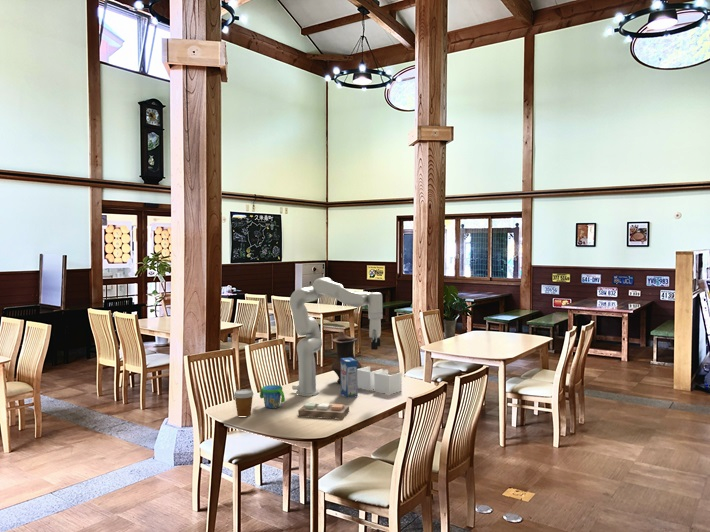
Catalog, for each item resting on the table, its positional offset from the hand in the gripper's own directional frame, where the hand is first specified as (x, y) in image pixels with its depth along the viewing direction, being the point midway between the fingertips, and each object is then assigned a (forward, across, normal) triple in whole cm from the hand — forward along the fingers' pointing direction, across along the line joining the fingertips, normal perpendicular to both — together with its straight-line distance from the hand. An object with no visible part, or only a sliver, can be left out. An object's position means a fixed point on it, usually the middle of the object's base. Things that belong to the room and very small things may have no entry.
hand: (375, 347), depth 289 cm
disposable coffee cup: (+29, +35, -60) cm, 76 cm away
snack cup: (+29, +19, -52) cm, 62 cm away
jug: (+29, -38, -25) cm, 54 cm away
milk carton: (+29, -9, -17) cm, 35 cm away
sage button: (+27, +26, -29) cm, 48 cm away
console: (+28, +27, -22) cm, 45 cm away
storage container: (+29, -24, -2) cm, 38 cm away
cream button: (+27, +27, -22) cm, 44 cm away
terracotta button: (+27, +27, -15) cm, 41 cm away
